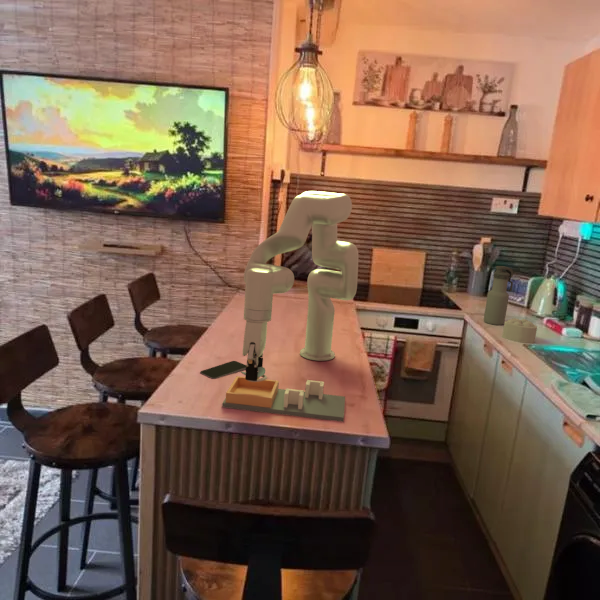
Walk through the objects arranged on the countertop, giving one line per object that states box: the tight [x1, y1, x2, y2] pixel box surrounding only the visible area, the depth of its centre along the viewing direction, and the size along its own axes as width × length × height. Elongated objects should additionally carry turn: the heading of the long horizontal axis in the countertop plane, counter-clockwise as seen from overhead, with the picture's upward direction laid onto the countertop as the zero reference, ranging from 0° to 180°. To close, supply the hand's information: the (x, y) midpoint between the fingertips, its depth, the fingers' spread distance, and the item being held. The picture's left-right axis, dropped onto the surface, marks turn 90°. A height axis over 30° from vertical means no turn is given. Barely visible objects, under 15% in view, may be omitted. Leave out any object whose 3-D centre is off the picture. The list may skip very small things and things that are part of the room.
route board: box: [221, 379, 346, 423], centre depth 146 cm, size 14×33×5 cm, turn 84°
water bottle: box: [483, 265, 514, 326], centre depth 253 cm, size 10×10×28 cm
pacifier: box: [240, 358, 268, 382], centre depth 145 cm, size 7×6×6 cm
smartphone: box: [199, 360, 246, 380], centre depth 168 cm, size 7×1×15 cm
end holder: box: [225, 375, 280, 408], centre depth 147 cm, size 13×13×3 cm
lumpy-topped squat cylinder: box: [501, 317, 538, 345], centre depth 230 cm, size 10×13×9 cm
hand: (253, 374), depth 146 cm, fingers closed on pacifier, 6 cm apart
